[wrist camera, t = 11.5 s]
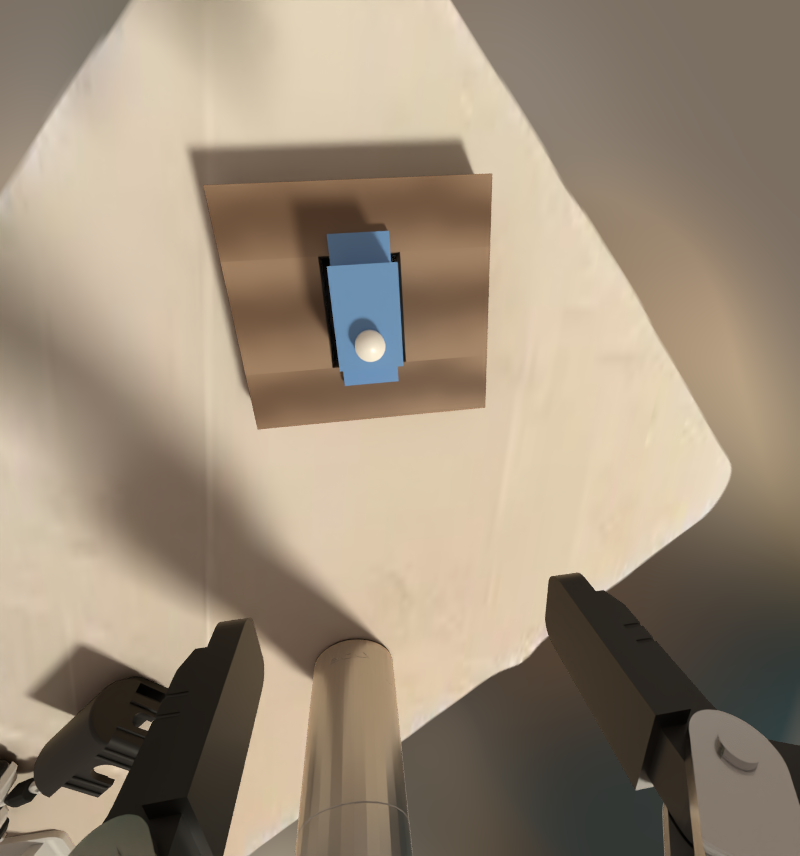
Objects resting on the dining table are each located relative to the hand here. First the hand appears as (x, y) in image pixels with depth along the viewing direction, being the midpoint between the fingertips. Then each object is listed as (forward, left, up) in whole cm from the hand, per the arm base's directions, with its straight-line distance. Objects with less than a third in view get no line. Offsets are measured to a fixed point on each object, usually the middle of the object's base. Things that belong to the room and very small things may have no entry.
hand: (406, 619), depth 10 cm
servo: (+6, 0, -23) cm, 24 cm away
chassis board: (+6, 0, -23) cm, 24 cm away
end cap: (-34, +31, -23) cm, 51 cm away
